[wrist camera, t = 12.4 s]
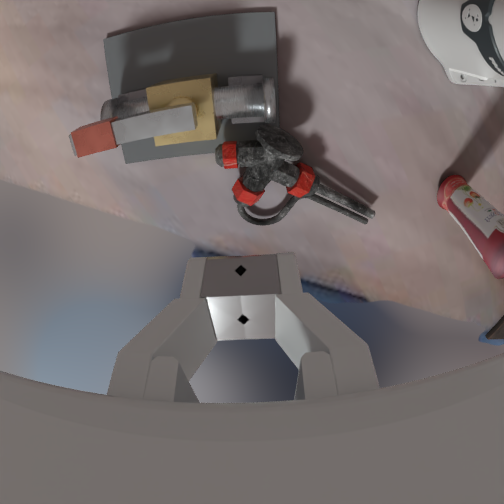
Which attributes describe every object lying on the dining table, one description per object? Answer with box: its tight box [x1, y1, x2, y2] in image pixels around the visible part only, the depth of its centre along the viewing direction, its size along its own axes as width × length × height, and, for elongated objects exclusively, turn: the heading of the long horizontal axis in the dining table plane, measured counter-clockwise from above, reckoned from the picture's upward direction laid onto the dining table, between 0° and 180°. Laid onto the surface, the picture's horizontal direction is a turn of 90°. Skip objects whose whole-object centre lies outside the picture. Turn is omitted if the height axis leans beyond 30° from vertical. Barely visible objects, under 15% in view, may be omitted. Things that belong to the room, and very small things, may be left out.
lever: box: [69, 102, 198, 158], centre depth 27 cm, size 14×3×3 cm, turn 95°
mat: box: [103, 12, 279, 164], centre depth 33 cm, size 22×19×1 cm
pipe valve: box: [101, 73, 276, 146], centre depth 31 cm, size 20×7×8 cm, turn 93°
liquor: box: [437, 175, 504, 279], centre depth 32 cm, size 7×7×28 cm
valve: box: [215, 124, 375, 225], centre depth 42 cm, size 6×26×15 cm
